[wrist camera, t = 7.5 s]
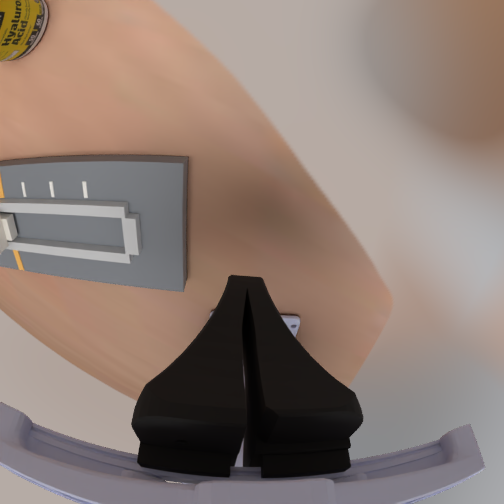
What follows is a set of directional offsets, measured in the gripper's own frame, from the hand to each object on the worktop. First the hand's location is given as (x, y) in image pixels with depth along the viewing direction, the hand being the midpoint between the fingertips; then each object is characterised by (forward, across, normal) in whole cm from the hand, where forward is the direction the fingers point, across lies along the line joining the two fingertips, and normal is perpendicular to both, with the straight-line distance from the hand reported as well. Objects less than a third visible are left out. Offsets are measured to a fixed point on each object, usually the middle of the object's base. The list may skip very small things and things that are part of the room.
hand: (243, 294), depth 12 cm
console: (+9, +15, +2) cm, 18 cm away
